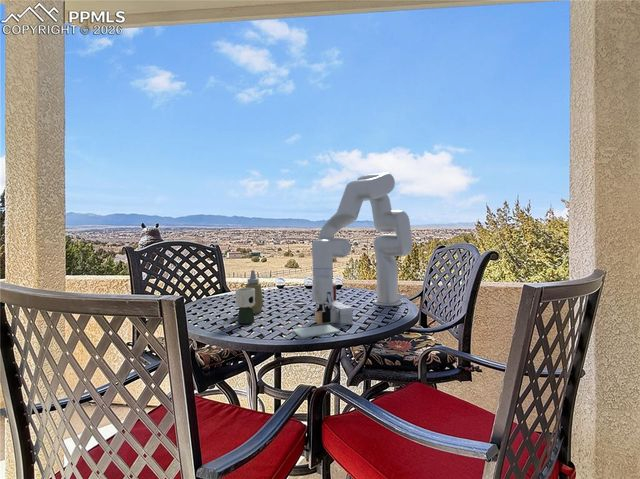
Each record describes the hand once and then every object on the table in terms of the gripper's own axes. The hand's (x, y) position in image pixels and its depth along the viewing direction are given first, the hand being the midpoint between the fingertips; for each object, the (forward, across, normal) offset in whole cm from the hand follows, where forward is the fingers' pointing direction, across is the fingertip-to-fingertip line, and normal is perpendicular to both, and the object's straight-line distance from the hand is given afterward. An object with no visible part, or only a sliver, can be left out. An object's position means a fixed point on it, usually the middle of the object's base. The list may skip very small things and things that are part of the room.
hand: (323, 320), depth 145 cm
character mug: (+1, -13, -26) cm, 30 cm away
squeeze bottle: (+1, -29, -20) cm, 35 cm away
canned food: (+1, -20, +10) cm, 23 cm away
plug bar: (+1, 0, +3) cm, 3 cm away
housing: (+1, 0, +6) cm, 6 cm away
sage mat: (+1, +10, -8) cm, 13 cm away
